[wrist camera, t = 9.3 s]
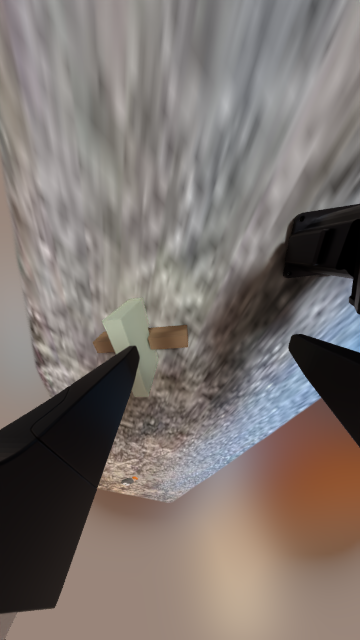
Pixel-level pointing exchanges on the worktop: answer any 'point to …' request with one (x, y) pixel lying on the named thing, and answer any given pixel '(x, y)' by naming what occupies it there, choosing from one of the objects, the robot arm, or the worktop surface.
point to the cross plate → (134, 341)
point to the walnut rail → (151, 339)
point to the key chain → (129, 481)
